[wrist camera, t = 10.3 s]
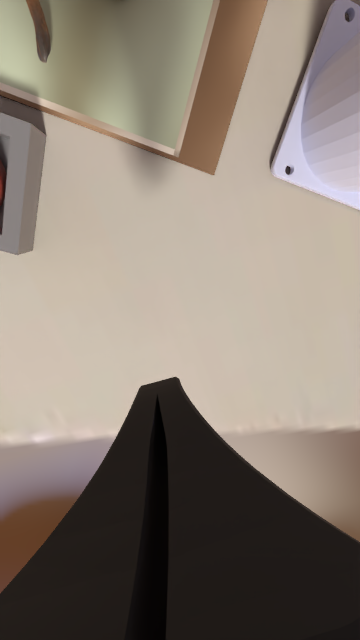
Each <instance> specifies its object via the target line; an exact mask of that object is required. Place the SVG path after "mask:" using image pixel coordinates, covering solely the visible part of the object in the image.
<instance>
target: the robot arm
mask: <svg viewBox="0 0 360 640" xmlns="http://www.w3.org/2000/svg"><path fill="white" fill-rule="evenodd" d="M345 13H347V14H348V15H349V22H347V21H346V20H345ZM287 166H289V167H290V169H291V171H290V174H289V175H287V174H286V172H285V169H286V167H287ZM271 172H272V174H273V176H275V177H277V178H279V179H282V180H284V181H287V182H289V183H292V184H294V185H297V186H300V187H302V188H305V189H307V190H310V191H312V192H315V193H317V194H320V195H322V196H325V197H327V198H330V199H332V200H335V201H337V202H340V203H343V204H345V205H348V206H350V207H353V208H355V209H358V210H360V6H359V5H358V4H356V3H354V2H353V1H351V0H335V1H334V2H333V3H332V5H331V6H330V8H329V10H328V12H327V15H326V18H325V20H324V23H323V26H322V29H321V31H320V34H319V37H318V39H317V42H316V45H315V48H314V50H313V53H312V56H311V59H310V61H309V64H308V67H307V69H306V72H305V75H304V78H303V80H302V83H301V86H300V89H299V91H298V94H297V97H296V99H295V102H294V105H293V108H292V110H291V113H290V116H289V119H288V121H287V124H286V127H285V129H284V132H283V135H282V138H281V140H280V143H279V146H278V149H277V151H276V154H275V157H274V159H273V162H272V165H271ZM0 640H360V542H359V541H357V540H356V539H354V538H352V537H351V536H349V535H348V534H346V533H344V532H343V531H341V530H340V529H338V528H336V527H335V526H334V525H332V524H331V523H329V522H327V521H326V520H324V519H323V518H321V517H320V516H318V515H317V514H315V513H314V512H312V511H311V510H310V509H308V508H307V507H305V506H304V505H302V504H301V503H300V502H298V501H297V500H296V499H294V498H293V497H291V496H290V495H288V494H287V493H286V492H285V491H283V490H282V489H280V488H279V487H278V486H276V484H274V483H273V482H272V481H270V480H269V479H268V478H267V477H265V476H264V475H263V474H261V473H260V472H259V471H257V470H256V469H255V468H254V467H253V466H251V465H250V464H249V463H248V462H247V461H246V460H245V459H243V458H242V457H241V456H240V455H239V454H238V453H237V452H236V451H235V450H234V449H233V448H232V447H230V446H229V445H228V444H227V443H226V442H225V441H224V440H223V439H222V438H221V437H220V436H219V435H218V434H217V432H216V431H215V430H214V429H213V428H212V427H211V426H210V425H209V424H208V423H207V421H206V420H205V419H204V418H203V417H202V415H201V414H200V413H199V411H198V410H197V409H196V408H195V406H194V405H193V404H192V402H191V401H190V399H189V398H188V396H187V395H186V393H185V391H184V389H183V388H182V386H181V383H180V380H179V378H177V377H173V378H169V379H165V380H162V381H158V382H154V383H151V384H147V385H143V386H141V387H140V389H139V390H138V393H137V395H136V397H135V400H134V402H133V404H132V406H131V409H130V411H129V413H128V415H127V417H126V419H125V421H124V423H123V425H122V427H121V429H120V431H119V433H118V435H117V437H116V439H115V440H114V442H113V444H112V446H111V448H110V449H109V451H108V453H107V455H106V456H105V458H104V460H103V462H102V463H101V465H100V466H99V468H98V470H97V471H96V473H95V474H94V476H93V477H92V479H91V480H90V482H89V483H88V485H87V486H86V488H85V489H84V491H83V492H82V494H81V495H80V497H79V498H78V499H77V501H76V502H75V504H74V505H73V506H72V508H71V509H70V510H69V511H68V513H67V514H66V515H65V517H64V518H63V519H62V521H61V522H60V523H59V524H58V526H57V527H56V528H55V530H54V531H53V532H52V533H51V535H50V536H49V537H48V539H47V540H46V541H45V543H44V544H43V545H42V546H41V547H40V548H39V550H38V551H37V552H36V553H35V554H34V556H33V557H32V558H31V559H30V560H29V561H28V563H27V564H26V565H25V566H24V567H23V568H22V570H21V571H20V572H19V573H18V574H17V575H16V577H15V578H14V579H13V580H12V581H11V582H10V583H9V584H8V585H7V587H6V588H5V589H4V590H3V591H2V592H1V594H0Z"/></svg>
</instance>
